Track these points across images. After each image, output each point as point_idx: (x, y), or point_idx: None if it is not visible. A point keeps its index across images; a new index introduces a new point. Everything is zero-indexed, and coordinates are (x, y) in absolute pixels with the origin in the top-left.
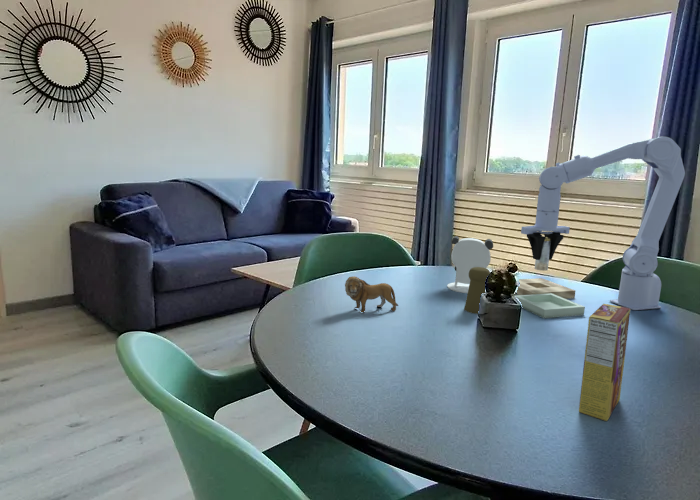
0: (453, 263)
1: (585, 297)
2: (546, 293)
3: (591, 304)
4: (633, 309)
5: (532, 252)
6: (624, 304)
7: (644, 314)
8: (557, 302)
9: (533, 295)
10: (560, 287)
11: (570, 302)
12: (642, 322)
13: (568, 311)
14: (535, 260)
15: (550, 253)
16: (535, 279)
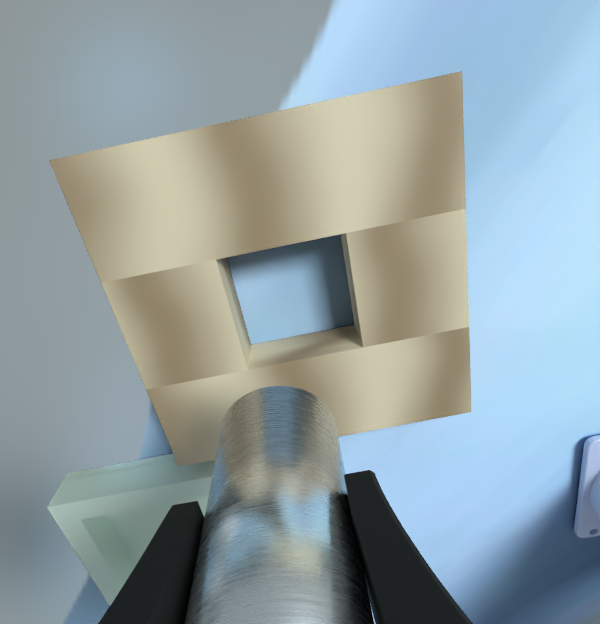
0: None
1: (527, 369)
2: None
3: (461, 467)
4: (576, 533)
5: (135, 576)
6: (590, 501)
7: (574, 557)
8: None
9: (160, 500)
10: (423, 354)
11: None
12: (484, 615)
13: None
14: (212, 479)
15: (370, 603)
16: (370, 127)
